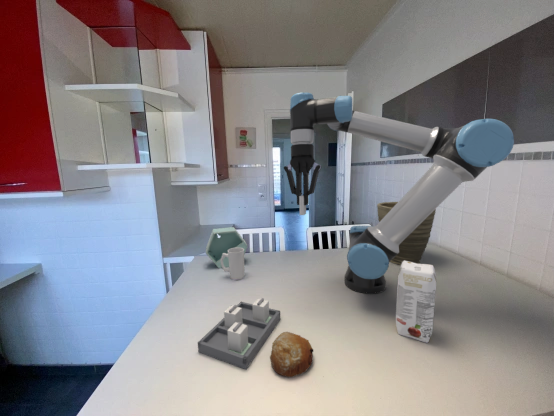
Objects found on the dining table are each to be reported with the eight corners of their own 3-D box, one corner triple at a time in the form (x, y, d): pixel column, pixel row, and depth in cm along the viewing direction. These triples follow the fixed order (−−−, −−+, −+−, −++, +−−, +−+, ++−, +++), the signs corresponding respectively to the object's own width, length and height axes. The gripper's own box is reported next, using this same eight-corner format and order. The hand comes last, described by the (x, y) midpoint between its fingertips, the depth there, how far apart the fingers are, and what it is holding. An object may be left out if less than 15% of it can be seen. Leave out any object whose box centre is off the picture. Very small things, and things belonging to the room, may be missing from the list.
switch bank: (280, 318, 71) (280, 310, 71) (246, 369, 53) (245, 359, 53) (241, 308, 77) (240, 301, 77) (198, 351, 59) (197, 342, 59)
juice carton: (431, 346, 59) (438, 275, 56) (393, 334, 63) (397, 268, 60) (431, 329, 65) (436, 264, 62) (396, 319, 70) (400, 258, 67)
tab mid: (242, 324, 67) (241, 306, 66) (235, 331, 64) (234, 312, 63) (232, 321, 69) (231, 303, 68) (225, 328, 65) (223, 309, 65)
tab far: (269, 316, 70) (268, 299, 69) (264, 323, 67) (263, 305, 66) (258, 313, 72) (257, 296, 71) (253, 320, 69) (252, 302, 68)
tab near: (248, 343, 59) (247, 323, 59) (241, 352, 56) (239, 331, 56) (236, 339, 61) (235, 319, 60) (228, 348, 58) (227, 328, 57)
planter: (225, 276, 112) (198, 244, 106) (224, 270, 119) (198, 239, 113) (254, 254, 114) (228, 221, 108) (251, 249, 122) (227, 218, 116)
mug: (245, 272, 105) (244, 247, 103) (245, 279, 98) (243, 252, 96) (222, 274, 104) (220, 248, 102) (220, 281, 97) (218, 253, 95)
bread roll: (276, 358, 61) (262, 334, 60) (311, 339, 61) (298, 315, 60) (280, 393, 51) (263, 366, 50) (322, 371, 52) (306, 343, 50)
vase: (442, 273, 100) (440, 206, 93) (381, 270, 111) (375, 209, 104) (432, 249, 121) (430, 192, 115) (382, 248, 132) (377, 196, 125)
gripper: (324, 144, 78) (323, 213, 82) (287, 146, 84) (289, 211, 87) (318, 141, 72) (318, 217, 75) (279, 144, 77) (281, 215, 81)
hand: (302, 214), depth 81 cm, fingers closed
